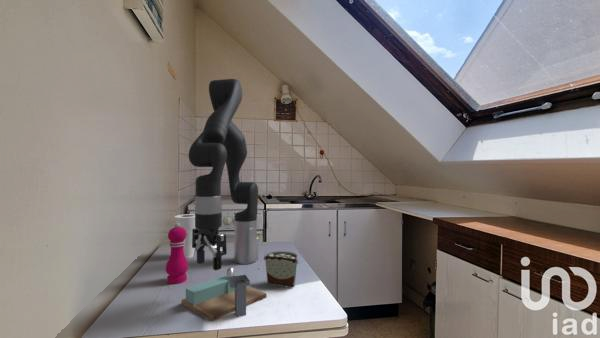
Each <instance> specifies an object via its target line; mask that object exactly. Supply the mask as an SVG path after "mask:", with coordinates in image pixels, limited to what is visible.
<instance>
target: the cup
mask: <svg viewBox="0 0 600 338" xmlns="http://www.w3.org/2000/svg"><path fill="white" fill-rule="evenodd" d="M174 222H175V224H176V223H180V227H182V228H184V229H185V230H186V233H187V236H186V238H185V239H184V241H185V245H184V255H185V258H186V259H191V258H193V257H194V252H195V248H192V230H193V229H194V228H195V213H191V214H190V213H188V214H187V213H186V214H177V215H174Z"/></svg>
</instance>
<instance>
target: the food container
mask: <svg viewBox="0 0 600 338" xmlns="http://www.w3.org/2000/svg"><path fill="white" fill-rule="evenodd" d="M263 260H264V261H265V269H266V273H265V274H266V279H267V280H266V282H267V285H269V284H270V286H276V285H278V286H277V287H283V286H287V287H286V288H290V287H294V288H295V286H296V275H297V266H298V264H299V263H300V260H299V257H298V254H297V253H295V252H291V251H286V250H285V251H281V250H279V251H278V250H277V251H270V252H266V253H265V254H264V256H263Z"/></svg>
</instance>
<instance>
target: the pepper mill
mask: <svg viewBox="0 0 600 338" xmlns="http://www.w3.org/2000/svg"><path fill="white" fill-rule="evenodd" d="M167 233H168V234H167V238H168V240H169V243H168V244H169V247H170V255H169V258H168V260H167V262H166V266H165V272H166V274H167V277H166V282H167V283H168V284H170V285H177V284H181V283H182V284H183V283H185V282H186V281H187V279H188V278H187V276H188V275H187V272H188V269H189V262H188V260H187V258H185V255H184V245H185V241H184V239H185V238H186V236H187V233H186V230H185V229H184V228H182V227H180V223H176V222H175V224H174V227H172V228H171V229H169V230H168V232H167Z"/></svg>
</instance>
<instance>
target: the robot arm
mask: <svg viewBox="0 0 600 338" xmlns="http://www.w3.org/2000/svg"><path fill="white" fill-rule="evenodd" d="M208 93H209V98H210V102H211V106H212V109H213V112H212V113H211V114H210V115H209V116H208V117H207V120H206V121H205V124H204V127H203V130H202V132H201V133H200V134H199V136H197V138H196V139H195V140H194V141H193V142H192V144H191V146H190V147H189V149H188V150H189V151H188V160H189V162H190V164H191V165H192V166H194V167H196V168H212V169H211V170H210V172H209V173H207V174H202V175H200V176H197V177H196V179H195V200H194V201H195V202H194V214H195V228H194V229H193V230H192V248H195V249H194V251H195V252H196V263H197V264H198V265H200V264H201V265H202V264H204V263H205V261H206V260H205V259H206V257H205V256H206V255H205V253H206V252H205V248H206V247H207V248H208V250H209V251H211V254H212V256H213V257H212V265H213V266H212V270H214V271H218V270H221V269H222V256H226V255H227V254H228V253H227V252H228V251H227V250H228V249H227V248H228V247H227V234H226V233H225V232H224V233H220V231H219V228H221V227H222V224H223V223H222V222H223V221H222V220H223V218H222V217H223V215H222V214H223V213H222V212H223V210H222V209H223V205H222V204H223V203H222V196H221V195H222V176H223V174H224V173H223V171H224V168H225V165H226V170H227V171H226V172H227V176H228V185H229V193H230V198H231V200H232V202H233V203H234V204H238V205H241V204H242V205H246V208H245V209H244V210H241V211H238V212H236V213H234V245H233V246H234V248H233V249H234V255H233V256H234V257H233V260H234V263H235V264H238V265H247V264H254V263H256V262H257V261H258V260H259V237H258V236H257V235H258V234H257V232H258V231H257V230H258V227H257V226H258V225H257V223H258V207H259V206H258V204H259V202H258V201H259V186H258V184H257V183H256V182H253V181H251V182H250V181H240V172H241V169H242V166H243V164H244V163H245V160H246V158H247V155H248V148H247V143H246V138H245V135H244V134H243V132H242V131H241V129H239V128H238V126H237V125H236V124H235V123H234V122H233V121H232V119H233V118H234V116H235V115H236V112H237V110H238V108H239V106H240V104H241V102H242V99H243V88H242V85H241V83H240V81H239V80H238V79H236V78H224V79H215V80H210V81H209V84H208Z"/></svg>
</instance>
